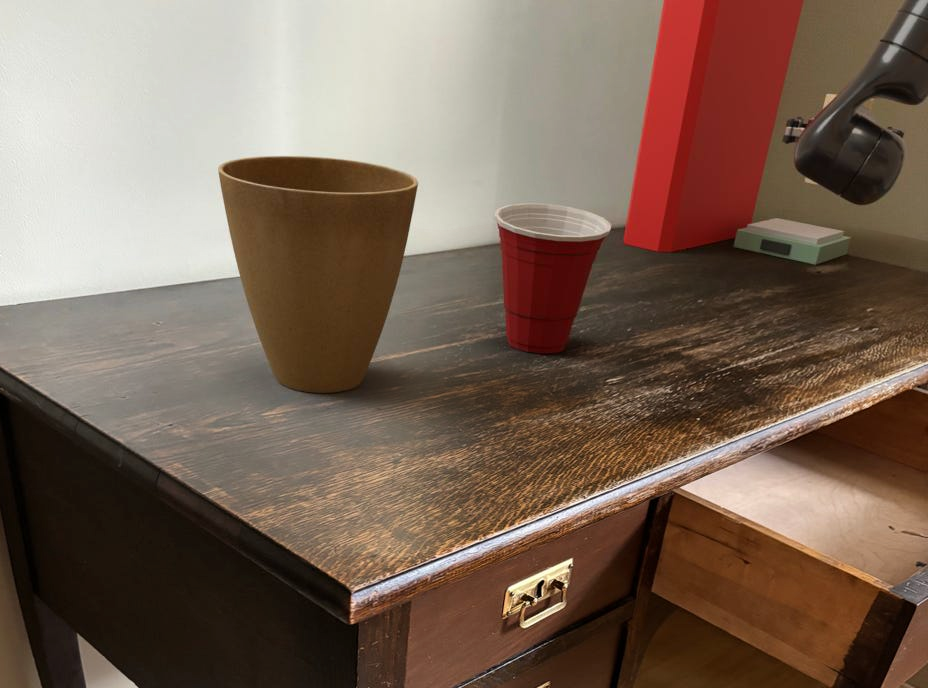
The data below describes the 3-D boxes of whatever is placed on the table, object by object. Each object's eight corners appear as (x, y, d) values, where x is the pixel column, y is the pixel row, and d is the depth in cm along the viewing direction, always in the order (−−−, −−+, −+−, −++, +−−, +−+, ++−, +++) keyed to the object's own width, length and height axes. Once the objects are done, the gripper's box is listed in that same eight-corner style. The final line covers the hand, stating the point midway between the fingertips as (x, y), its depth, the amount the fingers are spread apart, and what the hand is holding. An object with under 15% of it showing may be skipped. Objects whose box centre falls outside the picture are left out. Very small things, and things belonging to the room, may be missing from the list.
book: (704, 225, 160) (752, -6, 143) (748, 234, 156) (804, -2, 139) (618, 242, 142) (661, -20, 124) (665, 253, 138) (717, -17, 120)
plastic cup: (484, 358, 90) (498, 220, 83) (478, 326, 99) (490, 199, 92) (599, 367, 90) (622, 231, 84) (583, 334, 99) (602, 208, 93)
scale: (846, 254, 149) (853, 231, 147) (814, 265, 140) (821, 241, 138) (767, 238, 155) (772, 216, 153) (731, 247, 146) (737, 224, 144)
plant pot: (212, 355, 84) (201, 152, 75) (374, 349, 90) (381, 158, 81) (248, 416, 73) (241, 186, 64) (431, 405, 78) (447, 191, 69)
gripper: (921, 112, 107) (908, 104, 121) (788, 98, 110) (790, 91, 124) (898, 185, 111) (888, 169, 125) (771, 170, 115) (775, 156, 128)
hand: (839, 131), depth 125 cm, fingers closed on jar, 5 cm apart
